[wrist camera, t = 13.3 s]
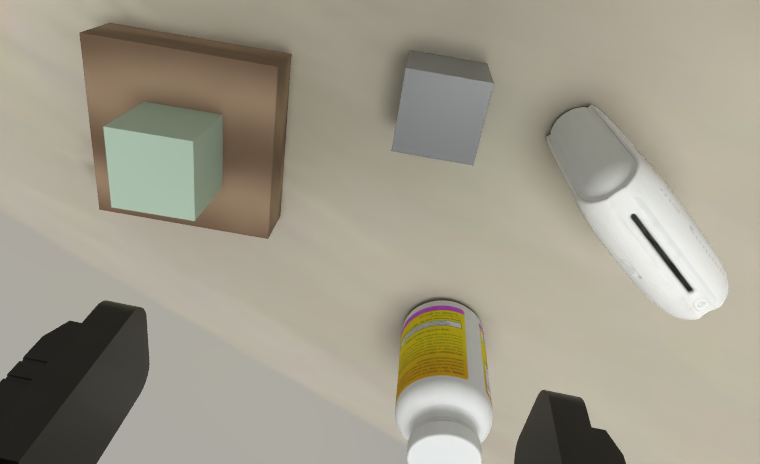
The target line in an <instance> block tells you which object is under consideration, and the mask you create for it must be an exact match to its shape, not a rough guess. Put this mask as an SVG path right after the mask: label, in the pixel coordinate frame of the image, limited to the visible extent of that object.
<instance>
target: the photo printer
mask: <svg viewBox="0 0 760 464" xmlns="http://www.w3.org/2000/svg"><path fill="white" fill-rule="evenodd" d="M547 142H548V145H549V148H550V150H551V152H552V154H553V156H554V158H555V160H556V162H557V164H558V166H559V168H560V169H561V171H562V173H563V175H564V177H565V179H566V181H567V183H568V185H569V187H570V189H571V191H572V193H573V195H574V197H575V199H576V201H577V204H578V206H579V208H580V210H581V212H582V214H583V216H584V217H585V219H586V221H587V222H588V224H589V225H590V227H591V228H592V229H593V231H594V233H595V234H596V236H597V237H598V238H599V240H600V241H601V242H602V244H603V245H604V246H605V248H606V249H607V250H608V252H609V253H610V254H611V256H612V257H613V258H614V259H615V261H616V262H617V263H618V265H619V266H620V267H621V268H622V269H623V271H624V272H625V273H626V274H627V275H628V277H629V278H630V279H631V280H632V281H633V283H634V284H635V285H636V286H637V287H638V288H639V289H640V290H641V291H642V292H643V293H644V294H645V296H646V297H647V298H648V299H649V300H651V301H652V302H653V303H654V304H656V305H657V306H658V307H659V308H661V309H662V310H664V311H665V312H667V313H669V314H670V315H672V316H674V317H677V318H681V319H687V320H695V319H699V318H700V317H702V316H703V315H704V314H705V313H707V312H709V311H711V310H714V309H717V308H719V307H720V306H721V305H722V304H723V302H724V301H725V299H726V297H727V294H728V289H729V285H728V279H727V275H726V271H725V269H724V266H723V264H722V262H721V261H720V259H719V257H718V256H717V254H716V252H715V251H714V249H713V248H712V246H711V245H710V243H709V242H708V240H707V238H706V237H705V236H704V234H703V233H702V231H701V230H700V228H699V227H698V226H697V224H696V223H695V222H694V220H693V219H692V217H691V216H690V215H689V213H688V212H687V211H686V209H685V208H684V207H683V205H682V204H681V203H680V201H679V200H678V199H677V197H676V196H675V195H674V194H673V192H672V191H671V190H670V189H669V187H668V186H667V185H666V184H665V182H664V181H663V180H662V179H661V178H660V176H659V175H658V174H657V173H656V172H655V170H654V169H653V168H652V167H651V166H650V165H649V164H648V162H647V161H646V160H645V159H644V158H643V156H642V155H641V154H640V153H639V152H638V151H637V149H636V148H635V147H634V146H633V145H632V144H631V142H630V141H629V140H628V139H627V138H626V137H625V135H624V134H623V133H622V132H621V131H620V130H619V129H618V128H617V127H616V126H615V124H614V123H613V122H612V121H611V120H610V119H609V118H608V117H607V116H606V115H605V114H604V113H603V112H602V111H600V110H599V109H598V108H596V107H595V106H593V105H590V106H589V107H587V108H586V107H579V108H575V109H572V110H570V111H568V112H566V113H564V114H563V115H562V116H561V117H560V118H559V119H558V120H557V121H556V122H555V123H554V125H553V127H552V129H551V134H550V135H549V136H547Z"/></svg>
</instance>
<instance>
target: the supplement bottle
mask: <svg viewBox="0 0 760 464" xmlns="http://www.w3.org/2000/svg"><path fill="white" fill-rule="evenodd" d="M395 417H396V423H397V426H398V428H399V430H400V432H401V434H402V435H403V436H404V438H405V439H406V440H407V441H408V445H407V461H408V464H481V463H482V447H481V443H482V442H483V441H484V439H485V438H486V437H487V435H488V434H489V432H490V429H491V426H492V422H493V411H492V402H491V394H490V385H489V377H488V367H487V358H486V349H485V340H484V333H483V328H482V325H481V323H480V321H479V319H478V317H477V316H476V315H475V314H474V313H473V312H472V311H471V310H470V309H468V308H467V307H465V306H463V305H461V304H459V303H456V302H452V301H444V300H439V301H432V302H428V303H425V304H422V305H420V306H418V307H417V308H416V309H414V310H413V311H412V312H411V313H410V314H409V315H408V316H407V318H406V320H405V322H404V324H403V327H402V334H401V346H400V358H399V371H398V384H397V395H396V408H395Z"/></svg>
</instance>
